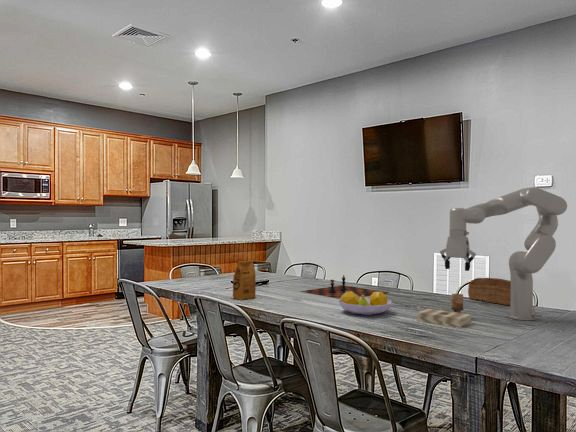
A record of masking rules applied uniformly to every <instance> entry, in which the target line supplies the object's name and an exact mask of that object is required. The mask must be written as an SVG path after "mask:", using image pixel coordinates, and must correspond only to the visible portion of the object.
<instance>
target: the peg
mask: <svg viewBox="0 0 576 432" xmlns="http://www.w3.org/2000/svg"><path fill="white" fill-rule="evenodd" d="M450 309H451V310H453V312H456V313H462V311H463V310H464V294H462V293H451V308H450Z"/></svg>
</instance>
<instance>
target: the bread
mask: <svg viewBox="0 0 576 432" xmlns="http://www.w3.org/2000/svg"><path fill="white" fill-rule="evenodd" d="M467 294H468V298H469V299H470V298H471V299H470V300H474V301H481V302H487V303H493V304H494V303H495V304H500V305H504V306H509V305H510V306H509V307H511V280H508V279H504V278H496V277H477V278H474V279H472V280H471V281H470V282H469V283H468V288H467ZM477 299H478V300H477ZM482 300H483V301H482Z"/></svg>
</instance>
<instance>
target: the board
mask: <svg viewBox="0 0 576 432" xmlns="http://www.w3.org/2000/svg"><path fill="white" fill-rule="evenodd" d="M416 312H417V315H416V316H417V317H416V318H417V319H416V321H417V322H421V321H422V322H421V323H427V322H428V323H429V324H433V323H435V324H434V325H439V324H440V325H441V326H444V325H447V326H446V327H450V326H453V327H452V328H456V327H458V329H460V327H461V328H463V326H464V327H466V326H468V324H469V325H471V324H472V314H468V313H462V312H461V313H456V312H454V311H447V310H441V309H434V308H426V309H424V310H420V311H416ZM470 323H471V324H470ZM440 325H439V326H440ZM465 325H466V326H465Z"/></svg>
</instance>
